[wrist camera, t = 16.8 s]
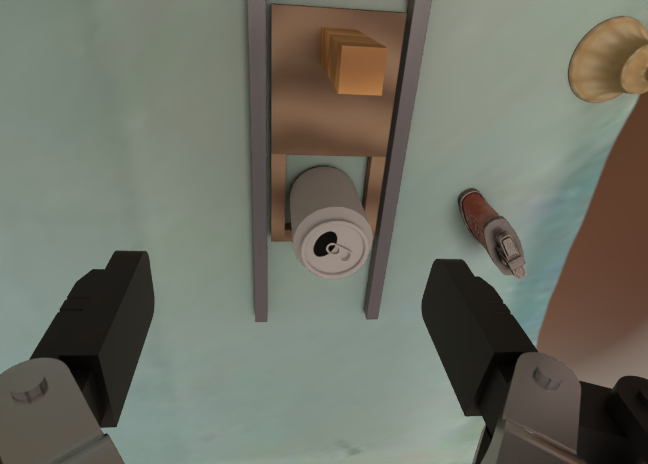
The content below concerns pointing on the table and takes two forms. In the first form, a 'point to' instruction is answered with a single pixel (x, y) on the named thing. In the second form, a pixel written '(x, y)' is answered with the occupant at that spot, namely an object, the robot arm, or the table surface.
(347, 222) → the can
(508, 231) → the lighter
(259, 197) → the rail
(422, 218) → the table surface
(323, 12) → the brown post on base
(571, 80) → the hand bell
